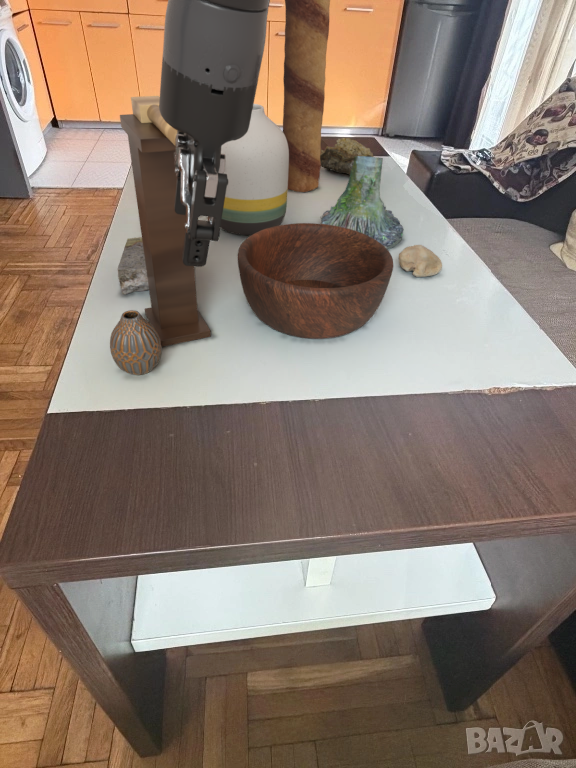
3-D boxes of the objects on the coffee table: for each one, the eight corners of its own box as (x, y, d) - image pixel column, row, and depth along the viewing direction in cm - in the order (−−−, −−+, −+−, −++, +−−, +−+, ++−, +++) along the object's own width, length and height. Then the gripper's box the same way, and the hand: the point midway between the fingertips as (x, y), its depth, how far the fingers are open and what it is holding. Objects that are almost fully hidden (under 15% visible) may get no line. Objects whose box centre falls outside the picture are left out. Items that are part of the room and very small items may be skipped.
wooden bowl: (381, 360, 79) (393, 301, 73) (221, 338, 82) (218, 279, 75) (385, 283, 99) (395, 230, 92) (255, 267, 101) (256, 215, 95)
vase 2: (299, 235, 114) (306, 113, 99) (226, 247, 107) (222, 119, 92) (266, 208, 125) (268, 95, 110) (198, 217, 119) (190, 99, 104)
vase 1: (172, 357, 77) (165, 306, 72) (150, 386, 72) (141, 332, 67) (129, 349, 79) (120, 297, 73) (105, 376, 74) (93, 323, 68)
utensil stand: (215, 343, 81) (204, 134, 62) (163, 354, 78) (135, 139, 59) (192, 305, 89) (176, 111, 70) (145, 314, 86) (115, 114, 67)
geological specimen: (115, 272, 87) (126, 230, 98) (122, 303, 91) (132, 260, 102) (181, 269, 88) (184, 229, 99) (185, 300, 92) (188, 258, 103)
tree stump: (316, 249, 109) (320, 156, 102) (320, 234, 127) (324, 154, 120) (405, 253, 108) (416, 158, 100) (397, 237, 126) (405, 156, 118)
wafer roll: (271, 182, 140) (276, -34, 111) (305, 177, 144) (319, -32, 116) (290, 195, 133) (300, -32, 104) (325, 189, 137) (345, -29, 109)
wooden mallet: (132, 114, 68) (130, 96, 67) (160, 112, 69) (158, 95, 68) (174, 158, 54) (172, 137, 53) (207, 155, 56) (206, 135, 54)
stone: (410, 271, 108) (389, 252, 103) (435, 251, 106) (415, 230, 100) (423, 293, 104) (402, 274, 99) (450, 272, 101) (430, 251, 96)
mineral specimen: (361, 165, 155) (365, 128, 149) (380, 179, 145) (386, 141, 139) (315, 167, 151) (318, 130, 145) (332, 182, 142) (335, 143, 135)
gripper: (156, 19, 44) (146, 194, 56) (171, 92, 35) (155, 281, 47) (243, 38, 46) (216, 202, 58) (276, 110, 38) (236, 285, 50)
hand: (189, 237), depth 53 cm, fingers open, 8 cm apart
